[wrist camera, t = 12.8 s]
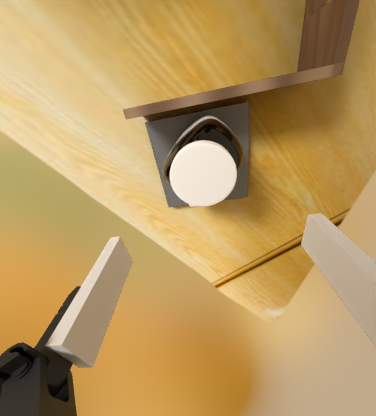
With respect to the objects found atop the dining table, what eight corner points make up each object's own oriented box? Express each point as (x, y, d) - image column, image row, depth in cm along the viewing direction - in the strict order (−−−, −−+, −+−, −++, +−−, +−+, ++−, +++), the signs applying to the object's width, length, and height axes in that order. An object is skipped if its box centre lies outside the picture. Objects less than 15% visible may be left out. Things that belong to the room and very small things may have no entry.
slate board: (169, 204, 34) (168, 207, 33) (147, 121, 26) (145, 122, 25) (246, 193, 32) (247, 196, 31) (246, 101, 24) (248, 101, 23)
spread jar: (205, 103, 24) (213, 105, 14) (254, 159, 27) (288, 191, 18) (154, 165, 29) (133, 198, 19) (202, 205, 32) (205, 250, 23)
